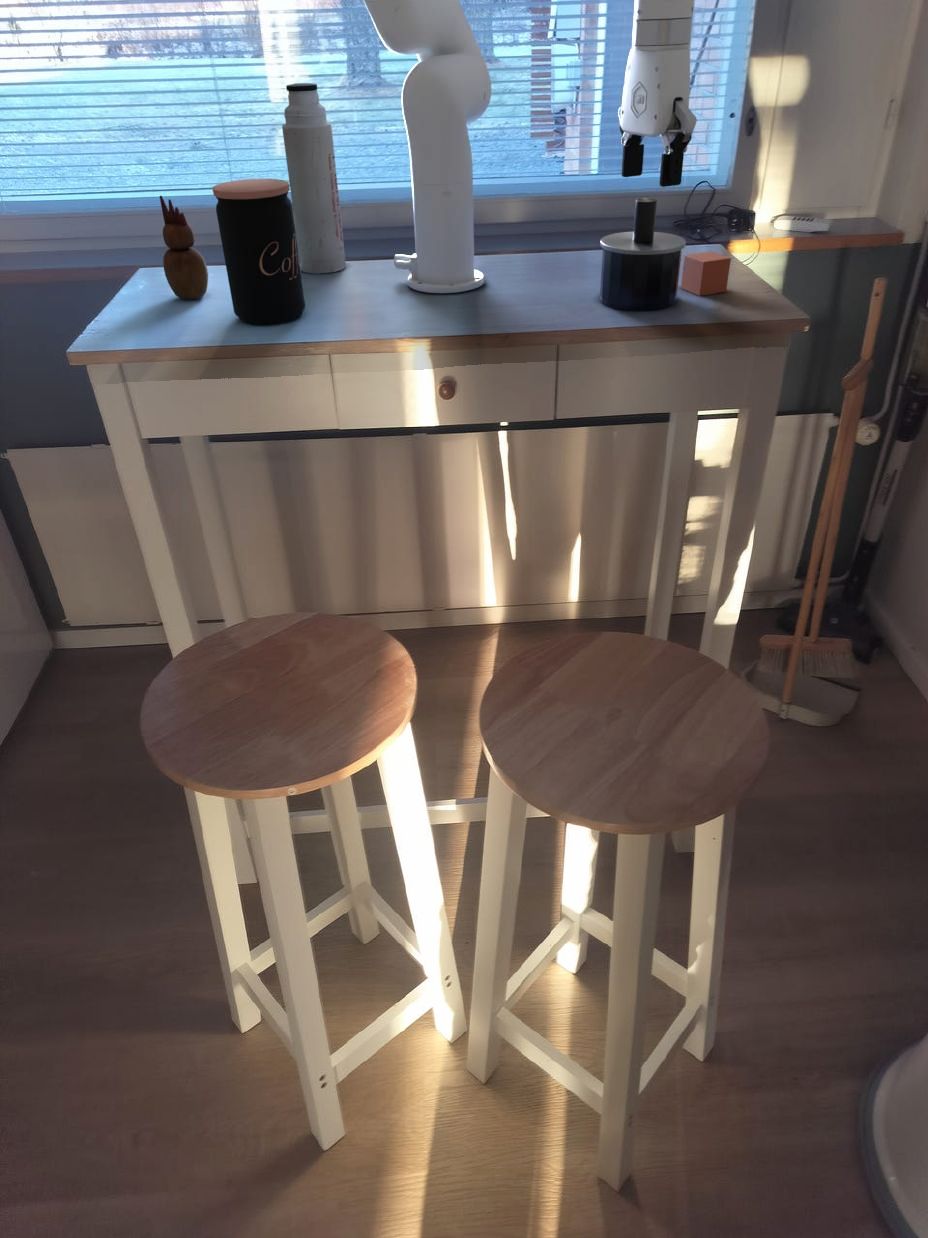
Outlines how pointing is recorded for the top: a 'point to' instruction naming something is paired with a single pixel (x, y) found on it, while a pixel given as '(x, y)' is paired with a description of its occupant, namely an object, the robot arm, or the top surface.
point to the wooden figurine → (182, 256)
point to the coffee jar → (260, 250)
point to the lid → (643, 234)
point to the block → (705, 273)
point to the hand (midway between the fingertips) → (650, 180)
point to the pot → (639, 280)
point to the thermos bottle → (313, 181)
